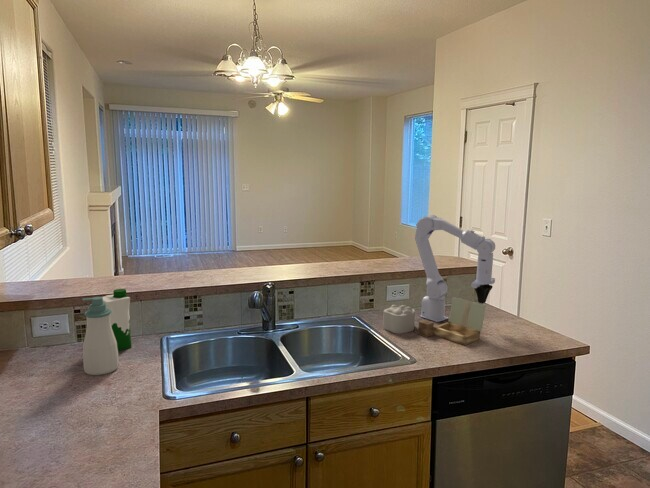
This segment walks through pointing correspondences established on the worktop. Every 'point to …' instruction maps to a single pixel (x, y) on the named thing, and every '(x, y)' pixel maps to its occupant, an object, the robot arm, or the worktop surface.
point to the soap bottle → (99, 340)
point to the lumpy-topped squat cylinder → (399, 319)
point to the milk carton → (120, 317)
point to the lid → (467, 313)
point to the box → (456, 333)
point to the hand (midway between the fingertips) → (481, 302)
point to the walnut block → (426, 328)
